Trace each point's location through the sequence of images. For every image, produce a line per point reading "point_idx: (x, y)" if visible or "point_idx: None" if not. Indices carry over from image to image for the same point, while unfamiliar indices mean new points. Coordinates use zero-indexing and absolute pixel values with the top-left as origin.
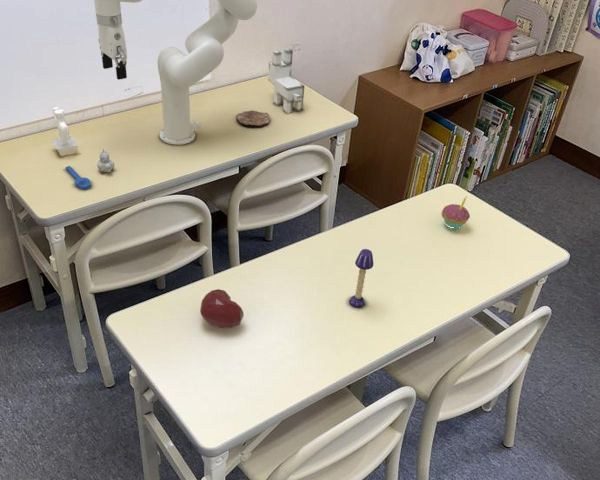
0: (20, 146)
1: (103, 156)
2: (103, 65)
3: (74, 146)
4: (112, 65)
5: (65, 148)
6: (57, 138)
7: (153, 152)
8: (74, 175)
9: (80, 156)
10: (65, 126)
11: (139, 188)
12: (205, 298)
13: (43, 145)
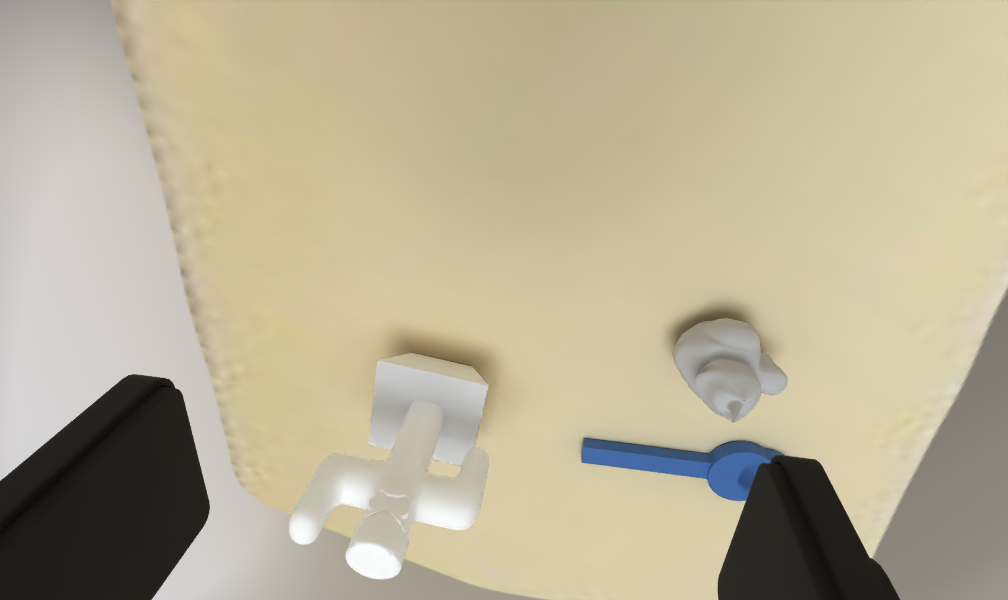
0: (302, 478)
1: (749, 410)
2: (163, 567)
3: (484, 398)
4: (153, 406)
5: (475, 431)
6: (372, 419)
7: (734, 6)
8: (670, 471)
9: (510, 358)
10: (468, 519)
11: (988, 313)
12: None
13: (332, 418)
